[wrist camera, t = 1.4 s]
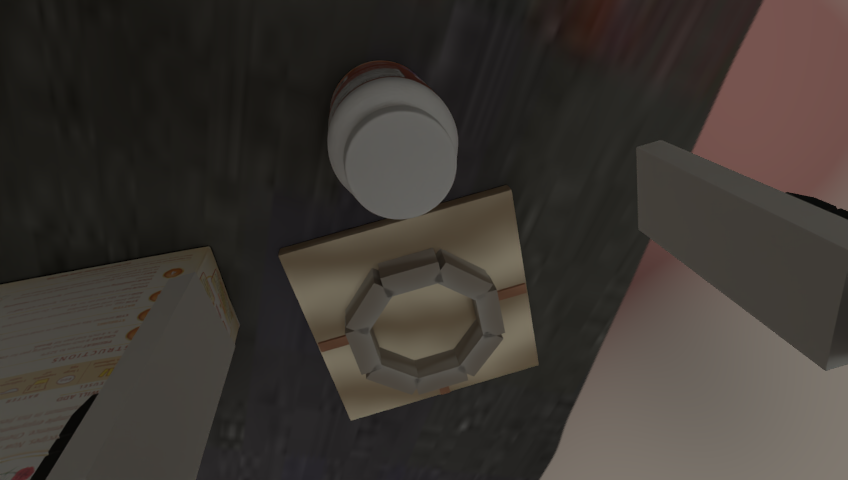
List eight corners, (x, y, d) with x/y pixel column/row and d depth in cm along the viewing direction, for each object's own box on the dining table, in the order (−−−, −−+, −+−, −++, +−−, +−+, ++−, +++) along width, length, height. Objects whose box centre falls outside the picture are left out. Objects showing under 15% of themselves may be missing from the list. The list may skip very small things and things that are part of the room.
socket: (279, 248, 32) (274, 271, 30) (506, 184, 33) (521, 201, 30) (350, 411, 40) (351, 440, 37) (534, 356, 41) (548, 382, 38)
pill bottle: (440, 146, 31) (487, 215, 21) (347, 171, 31) (352, 253, 21) (417, 45, 28) (460, 72, 18) (315, 73, 28) (303, 115, 18)
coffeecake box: (27, 370, 34) (-295, 762, 16) (-30, 285, 30) (-510, 665, 13) (244, 328, 35) (154, 651, 18) (211, 242, 32) (62, 537, 14)
